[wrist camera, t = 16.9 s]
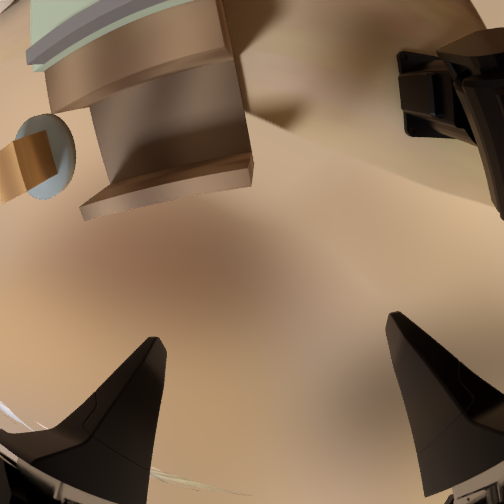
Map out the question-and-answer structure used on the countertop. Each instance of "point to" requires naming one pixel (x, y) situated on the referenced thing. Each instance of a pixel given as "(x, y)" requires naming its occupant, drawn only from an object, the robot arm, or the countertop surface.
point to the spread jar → (6, 4)
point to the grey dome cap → (53, 153)
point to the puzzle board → (160, 107)
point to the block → (25, 165)
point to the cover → (80, 24)
